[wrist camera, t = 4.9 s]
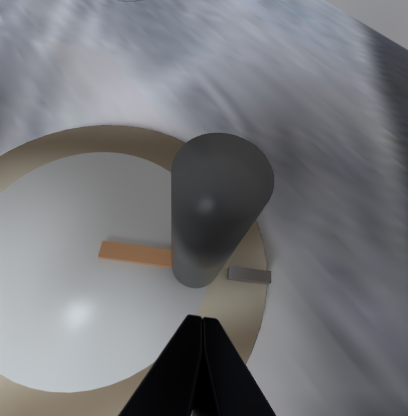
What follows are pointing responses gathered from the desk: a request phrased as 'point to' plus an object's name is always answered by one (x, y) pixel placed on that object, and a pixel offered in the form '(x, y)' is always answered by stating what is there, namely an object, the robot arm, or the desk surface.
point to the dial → (117, 256)
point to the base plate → (215, 294)
